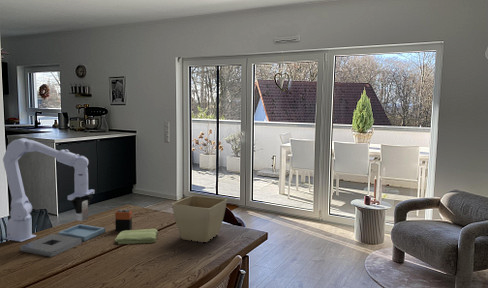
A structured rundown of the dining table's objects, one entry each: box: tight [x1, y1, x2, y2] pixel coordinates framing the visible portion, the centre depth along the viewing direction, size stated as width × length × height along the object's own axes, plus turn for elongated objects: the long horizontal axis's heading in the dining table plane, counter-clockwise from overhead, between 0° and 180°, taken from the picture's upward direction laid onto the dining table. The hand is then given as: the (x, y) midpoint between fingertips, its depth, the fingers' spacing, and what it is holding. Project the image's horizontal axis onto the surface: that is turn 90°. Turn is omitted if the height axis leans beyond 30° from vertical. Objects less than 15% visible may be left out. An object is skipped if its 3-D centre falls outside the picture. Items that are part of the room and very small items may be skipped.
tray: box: [57, 223, 106, 242], centre depth 169 cm, size 15×13×2 cm
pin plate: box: [19, 233, 83, 258], centre depth 153 cm, size 16×16×2 cm
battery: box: [114, 208, 133, 232], centre depth 177 cm, size 4×7×10 cm, turn 91°
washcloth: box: [114, 228, 159, 245], centre depth 166 cm, size 13×18×3 cm
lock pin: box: [75, 199, 89, 222], centre depth 168 cm, size 4×4×9 cm
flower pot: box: [171, 195, 228, 243], centre depth 169 cm, size 19×19×17 cm
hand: (81, 212), depth 168 cm, fingers closed on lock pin, 4 cm apart
